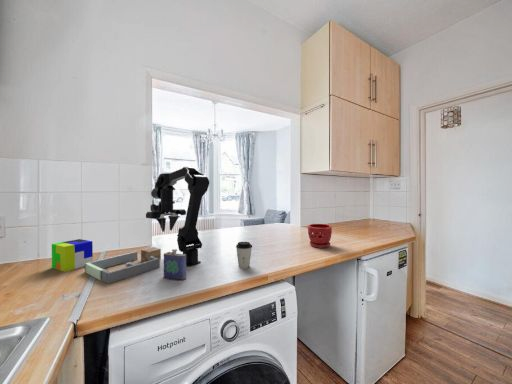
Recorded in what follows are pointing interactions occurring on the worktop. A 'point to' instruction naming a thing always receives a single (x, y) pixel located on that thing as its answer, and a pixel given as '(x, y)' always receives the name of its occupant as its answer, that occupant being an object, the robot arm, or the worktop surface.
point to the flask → (174, 266)
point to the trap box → (129, 270)
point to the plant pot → (319, 235)
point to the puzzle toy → (71, 254)
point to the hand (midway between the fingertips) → (167, 231)
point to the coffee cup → (244, 254)
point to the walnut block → (150, 253)
